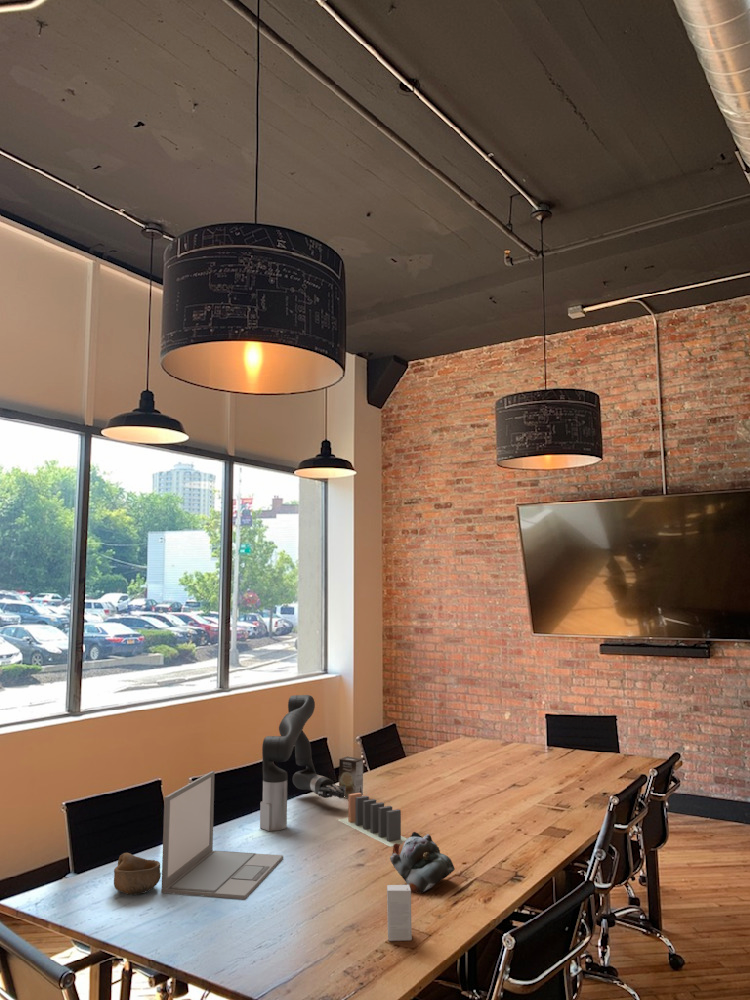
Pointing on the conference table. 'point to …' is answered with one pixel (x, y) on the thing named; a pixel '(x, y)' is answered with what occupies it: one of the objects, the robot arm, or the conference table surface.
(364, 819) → the domino
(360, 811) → the domino
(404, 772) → the conference table surface
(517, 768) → the conference table surface
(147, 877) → the bowl
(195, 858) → the laptop
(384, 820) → the domino
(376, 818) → the domino
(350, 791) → the coffee box
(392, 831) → the domino
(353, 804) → the domino
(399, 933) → the skincare box
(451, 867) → the lucky cat figurine
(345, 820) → the strip
